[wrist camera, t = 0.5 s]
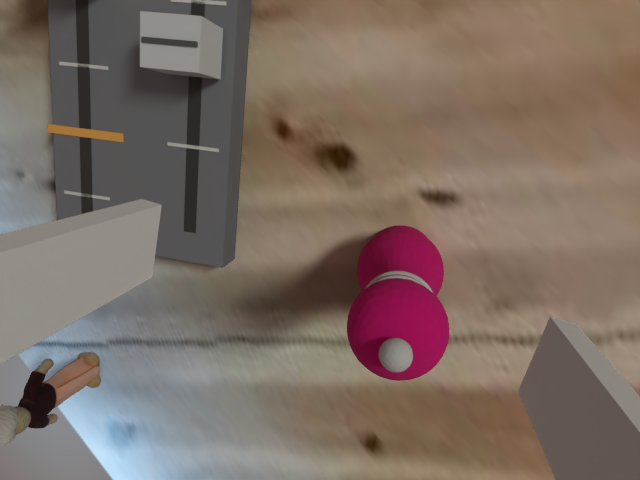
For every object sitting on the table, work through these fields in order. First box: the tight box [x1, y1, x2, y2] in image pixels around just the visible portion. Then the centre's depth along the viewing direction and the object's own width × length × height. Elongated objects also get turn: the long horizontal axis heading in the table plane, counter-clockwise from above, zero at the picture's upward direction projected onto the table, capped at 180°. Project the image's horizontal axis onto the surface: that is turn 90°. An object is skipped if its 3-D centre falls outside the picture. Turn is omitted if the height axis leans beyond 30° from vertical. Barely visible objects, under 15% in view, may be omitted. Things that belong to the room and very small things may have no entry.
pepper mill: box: [347, 226, 449, 381], centre depth 31 cm, size 7×7×20 cm
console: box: [47, 0, 251, 268], centre depth 40 cm, size 30×18×3 cm, turn 174°
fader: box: [140, 11, 223, 80], centre depth 35 cm, size 4×5×4 cm
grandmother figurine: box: [0, 353, 101, 445], centre depth 45 cm, size 8×4×13 cm, turn 5°
